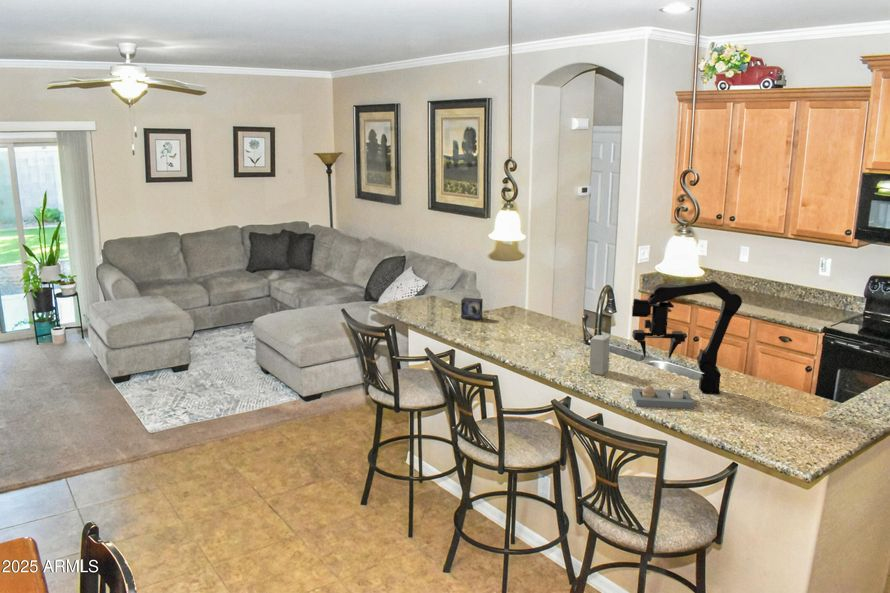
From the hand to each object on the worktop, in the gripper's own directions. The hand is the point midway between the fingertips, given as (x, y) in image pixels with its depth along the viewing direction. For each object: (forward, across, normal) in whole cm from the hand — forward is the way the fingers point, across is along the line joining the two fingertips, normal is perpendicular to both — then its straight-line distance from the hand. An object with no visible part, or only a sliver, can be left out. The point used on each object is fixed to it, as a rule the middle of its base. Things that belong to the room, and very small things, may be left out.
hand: (656, 357), depth 269 cm
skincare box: (+12, +20, -16) cm, 28 cm away
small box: (+12, +80, -98) cm, 127 cm away
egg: (+12, -5, +16) cm, 21 cm away
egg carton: (+12, 0, +16) cm, 20 cm away
